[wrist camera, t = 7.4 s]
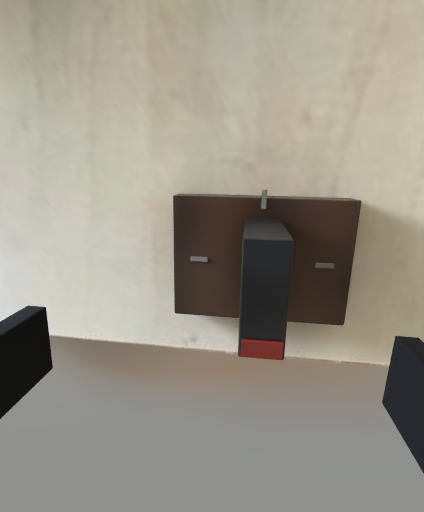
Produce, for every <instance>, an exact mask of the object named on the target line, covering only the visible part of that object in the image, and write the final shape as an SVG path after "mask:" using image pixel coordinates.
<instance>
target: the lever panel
mask: <svg viewBox="0 0 424 512" xmlns="http://www.w3.org/2000/svg"><path fill="white" fill-rule="evenodd" d="M360 207H361V201H360V200H356V199H352V198H324V197H288V196H267V190H262V196H251V195H215V194H177V195H174V196H173V212H174V291H175V313H179V314H193V315H206V316H220V317H234V318H240V294H241V269H242V244H243V233H244V226H245V219H246V218H277V219H280V220H281V222H282V223H283V225H284V226H285V228H286V229H287V231H288V232H289V234H290V236H291V237H292V239H293V241H294V243H293V255H292V267H291V279H290V291H289V303H288V315H287V321H289V322H303V323H316V324H330V325H344V320H345V313H346V306H347V299H348V292H349V285H350V278H351V271H352V264H353V257H354V249H355V242H356V235H357V228H358V221H359V214H360Z"/></svg>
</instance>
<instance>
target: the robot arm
mask: <svg viewBox="0 0 424 512" xmlns="http://www.w3.org/2000/svg"><path fill="white" fill-rule="evenodd" d="M52 367H53V366H52V358H51V349H50V340H49V331H48V322H47V313H46V307H37V306H26V307H25V308H23V309H21V310H20V311H18V312H16V313H14V314H13V315H11V316H9V317H8V318H6V319H4V320H2V321H1V322H0V419H1V418H2V417H3V416H4V415H5V414H6V413H7V412H8V411H9V410H10V409H11V408H12V407H13V406H14V405H15V404H16V403H17V402H18V401H19V400H20V399H21V398H22V397H23V396H24V395H25V394H27V393H28V392H29V391H30V390H31V389H32V388H33V387H34V386H35V384H37V383H38V382H39V381H40V380H41V379H42V378H43V377H44V376H45V375H46V374H47V373H48V372H49V371H50V370H51V369H52ZM382 403H383V405H384V407H385V408H386V410H387V412H388V413H389V415H390V417H391V418H392V420H393V422H394V423H395V425H396V427H397V429H398V430H399V432H400V434H401V435H402V437H403V439H404V441H405V442H406V444H407V446H408V447H409V449H410V451H411V453H412V454H413V456H414V458H415V459H416V461H417V463H418V464H419V466H420V468H421V470H422V471H423V473H424V342H422V341H421V340H420V339H419V338H414V337H402V336H395V341H394V346H393V351H392V356H391V361H390V366H389V371H388V376H387V381H386V386H385V391H384V396H383V401H382Z"/></svg>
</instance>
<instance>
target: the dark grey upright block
mask: <svg viewBox="0 0 424 512" xmlns="http://www.w3.org/2000/svg"><path fill="white" fill-rule="evenodd" d="M293 243H294V241H293V239H292V237H291V236H290V234H289V232H288V231H287V229H286V228H285V226H284V225H283V223H282V222H281V220H280V219H277V218H246V219H245V226H244V233H243V244H242V269H241V294H240V319H239V344H238V356H240V357H251V358H263V359H276V360H283V359H284V351H285V339H286V327H287V315H288V303H289V291H290V279H291V267H292V255H293Z"/></svg>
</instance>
